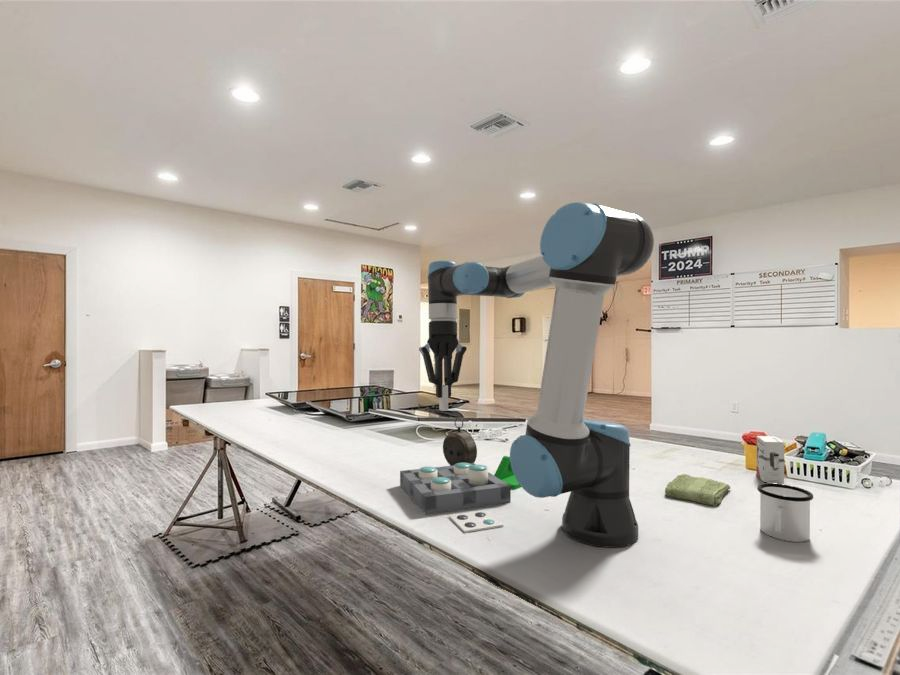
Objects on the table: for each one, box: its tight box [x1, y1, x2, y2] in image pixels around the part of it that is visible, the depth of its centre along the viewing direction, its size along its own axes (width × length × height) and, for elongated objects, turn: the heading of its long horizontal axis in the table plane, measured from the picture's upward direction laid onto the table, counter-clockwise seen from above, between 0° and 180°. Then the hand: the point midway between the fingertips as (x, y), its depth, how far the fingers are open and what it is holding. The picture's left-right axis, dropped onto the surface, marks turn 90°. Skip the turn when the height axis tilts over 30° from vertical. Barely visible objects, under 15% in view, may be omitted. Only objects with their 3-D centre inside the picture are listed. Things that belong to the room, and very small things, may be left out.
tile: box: [448, 509, 504, 534], centre depth 103 cm, size 9×9×1 cm
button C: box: [468, 464, 489, 487], centre depth 119 cm, size 5×5×4 cm
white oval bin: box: [756, 483, 814, 543], centre depth 96 cm, size 12×10×9 cm
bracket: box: [493, 455, 522, 491], centre depth 132 cm, size 12×8×7 cm, turn 138°
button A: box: [431, 477, 451, 492], centre depth 115 cm, size 5×5×4 cm
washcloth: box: [664, 473, 731, 507], centre depth 123 cm, size 13×18×3 cm
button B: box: [418, 466, 438, 480], centre depth 124 cm, size 5×5×4 cm
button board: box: [399, 462, 512, 515], centre depth 122 cm, size 22×22×4 cm
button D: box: [454, 463, 471, 476], centre depth 128 cm, size 5×5×4 cm
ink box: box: [756, 435, 786, 485], centre depth 134 cm, size 9×5×12 cm, turn 161°
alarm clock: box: [442, 417, 478, 466], centre depth 142 cm, size 11×5×16 cm, turn 45°
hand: (443, 409), depth 124 cm, fingers closed
